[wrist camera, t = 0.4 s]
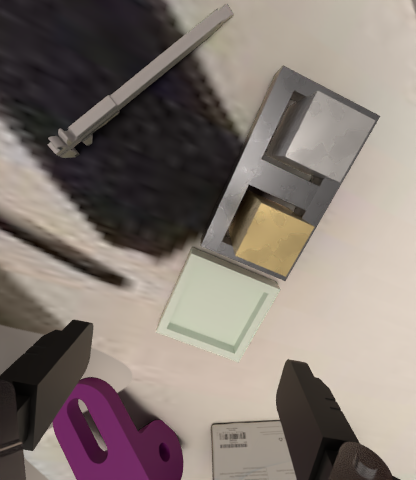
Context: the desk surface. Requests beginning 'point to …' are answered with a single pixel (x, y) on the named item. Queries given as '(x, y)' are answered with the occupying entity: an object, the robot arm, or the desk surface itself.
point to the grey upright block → (319, 136)
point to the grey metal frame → (274, 168)
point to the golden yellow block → (268, 233)
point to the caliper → (135, 86)
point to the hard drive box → (250, 452)
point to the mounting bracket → (114, 439)
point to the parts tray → (217, 305)
